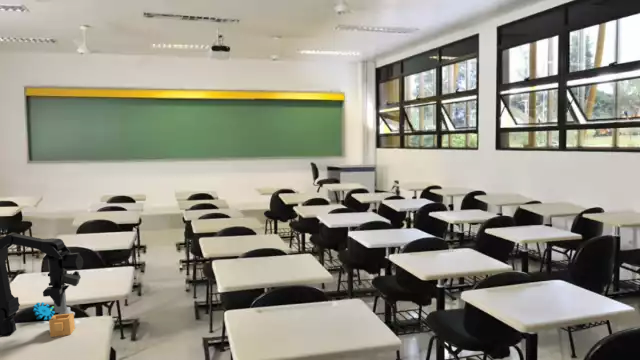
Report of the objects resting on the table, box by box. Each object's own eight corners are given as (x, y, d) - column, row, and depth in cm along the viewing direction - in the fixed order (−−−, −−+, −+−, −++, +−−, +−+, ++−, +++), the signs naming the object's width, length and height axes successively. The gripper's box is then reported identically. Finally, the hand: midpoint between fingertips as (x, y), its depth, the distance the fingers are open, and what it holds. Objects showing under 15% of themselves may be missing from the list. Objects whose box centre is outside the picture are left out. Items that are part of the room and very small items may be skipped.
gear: (43, 320, 219) (30, 304, 221) (35, 329, 220) (22, 313, 222) (61, 314, 230) (48, 298, 232) (54, 323, 231) (41, 307, 233)
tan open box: (48, 338, 204) (46, 319, 203) (59, 325, 218) (58, 306, 217) (69, 336, 205) (67, 317, 204) (78, 323, 219) (77, 304, 218)
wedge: (54, 312, 207) (53, 294, 206) (56, 310, 209) (54, 292, 209) (65, 311, 208) (63, 293, 207) (66, 309, 210) (65, 291, 209)
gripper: (70, 274, 199) (74, 311, 201) (83, 261, 217) (86, 296, 219) (40, 276, 197) (44, 314, 199) (55, 263, 215) (59, 298, 217)
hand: (60, 305), depth 208 cm, fingers closed on wedge, 2 cm apart
